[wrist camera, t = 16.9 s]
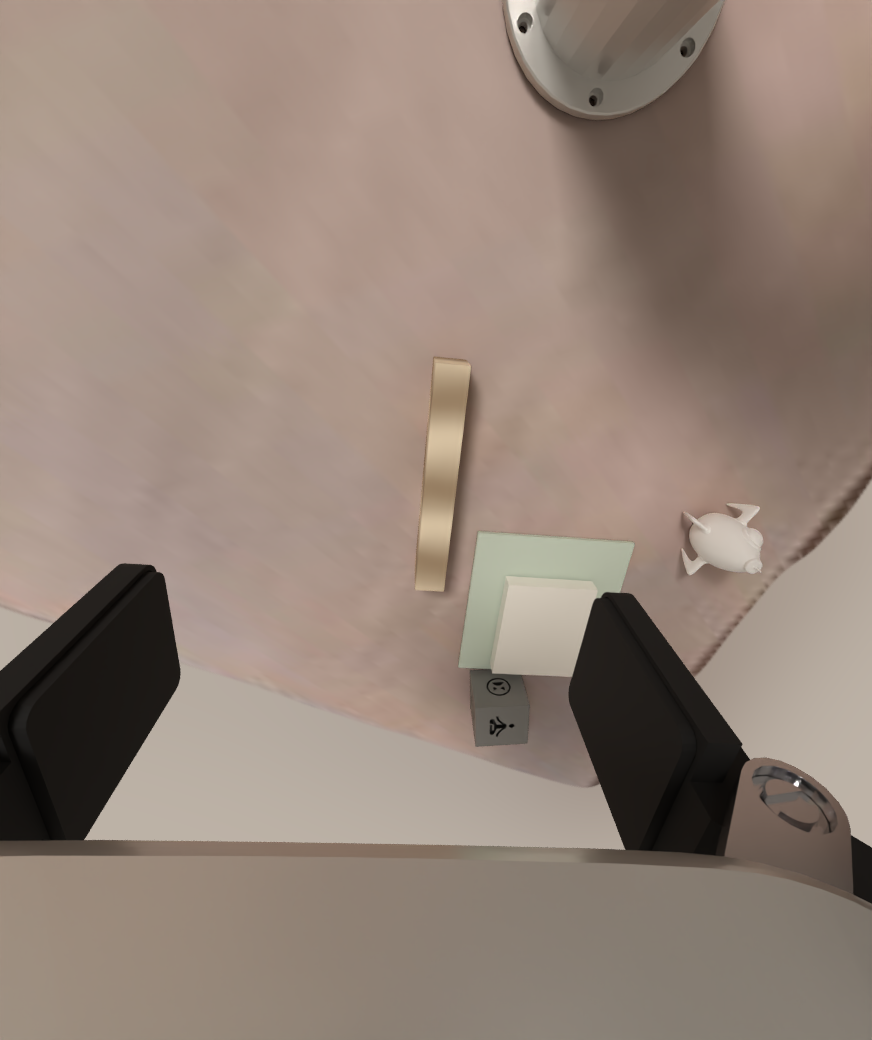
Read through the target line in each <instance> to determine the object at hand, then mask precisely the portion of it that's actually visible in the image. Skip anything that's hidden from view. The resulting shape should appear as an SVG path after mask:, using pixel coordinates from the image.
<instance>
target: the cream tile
mask: <svg viewBox="0 0 872 1040" xmlns="http://www.w3.org/2000/svg"><path fill="white" fill-rule="evenodd" d="M597 592H598V590H597V588H596V586H595V585H594V583H593V582H592V581H581V580H565V579H548V578H532V577H516V576H506V578H505V583H504V589H503V594H502V600H501V605H500V611H499V616H498V622H497V627H496V633H495V638H494V643H493V649H492V654H491V660H490V665H491V670H492V673H495V674H517V675H539V676H561V677H572V675H573V672H574V668H575V665H576V661H577V658H578V654H579V650H580V647H581V643H582V640H583V636H584V633H585V629H586V626H587V622H588V618H589V615H590V611H591V608H592V604H593V602H594V600H595V599H596V596H597Z"/></svg>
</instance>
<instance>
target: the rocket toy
mask: <svg viewBox="0 0 872 1040" xmlns="http://www.w3.org/2000/svg"><path fill="white" fill-rule="evenodd" d="M726 505H728V506H731V507H734V508H737V509H739V510H741V511H742V514H741V516H740V517H738V518H733V517H731V516H728V515H725V514H721V513H709V514H705V515H703V516H701V517H700V518H698V519H695V518H694V517H693V516H691V515H690V514H688V513H686V512H684V511H683V513H684V514H685V515H686V517H687V518H688V519H689V520H690V521H692V522H693V525H692V526H691V529H690V532H689V539H690V542H691V545H692V547H693V549H694V550H695V551H696V553H697V554H698V557H697V558H696V559H695V560H694V561H691V560H690V559H689V558H688V556H687V555H686V553H685V551H684V550H683V548H682V549H681V552H682V557H683V561H684V565H685V569H686V571H687V574H688V575H692V574H694V573H695V572H696V571H697V570H698V569H699V568H700V567H701V566H702V565H704V564H708V563H709V564H711V565H713V566H715V567H717V568H720V569H723V570H726V571H731V572H747V573H750V574H754V573H757V572H758V571H759V572H760V573H762V572H761V571H760V569H761V568H762V562H761V561H760V551H761V550H762V549H761V546H762V544H763V537H762V535H761V533H760V532H759V531H758V530H757V529H754V528H748V527H747V523H748V522H749V520H750V519H751V518H752V517H753V516H755V515H756V514H757V512H758V511H759V510H760V507H759V506H756V505H748V504H735V503H728V504H726Z"/></svg>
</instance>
